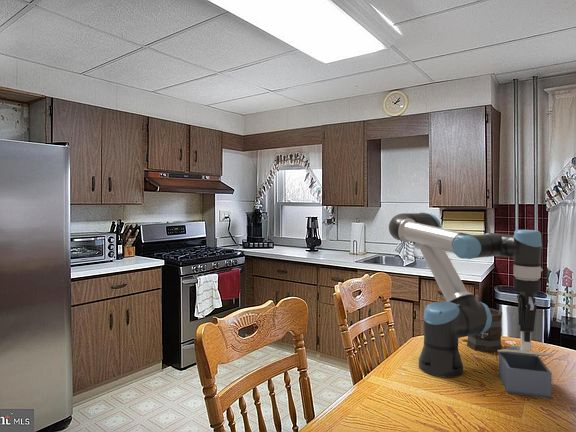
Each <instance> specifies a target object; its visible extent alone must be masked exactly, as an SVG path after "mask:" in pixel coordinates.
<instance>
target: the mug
mask: <svg viewBox="0 0 576 432" xmlns="http://www.w3.org/2000/svg"><path fill="white" fill-rule="evenodd" d="M488 308H489V307H488ZM489 309H490V312H491V315H492V322H491V326H490V328H489V329H488V330H487V331H486V332H484V333H481V334H479V335H472V336H467V342H466V347H468V348H470V349H471V350H473V351H475V352H480V353H486V354H496V353H499V352H498V350H502V348H503V347H502V332H503V331H502V329H503V328H502V316H503V311H501V310H497V309H495V308H491V307H490V308H489Z"/></svg>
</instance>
